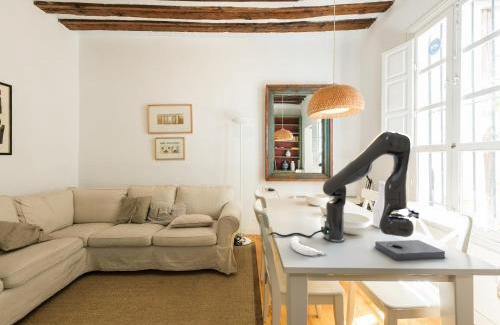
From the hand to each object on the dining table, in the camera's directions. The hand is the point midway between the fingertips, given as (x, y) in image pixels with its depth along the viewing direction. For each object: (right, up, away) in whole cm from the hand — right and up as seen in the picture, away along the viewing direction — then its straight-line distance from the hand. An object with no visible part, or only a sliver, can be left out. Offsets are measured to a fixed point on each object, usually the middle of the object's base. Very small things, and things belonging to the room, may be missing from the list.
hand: (401, 209), depth 109 cm
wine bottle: (+13, -20, +39) cm, 46 cm away
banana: (-46, -20, +2) cm, 51 cm away
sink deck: (+2, -21, -1) cm, 21 cm away
